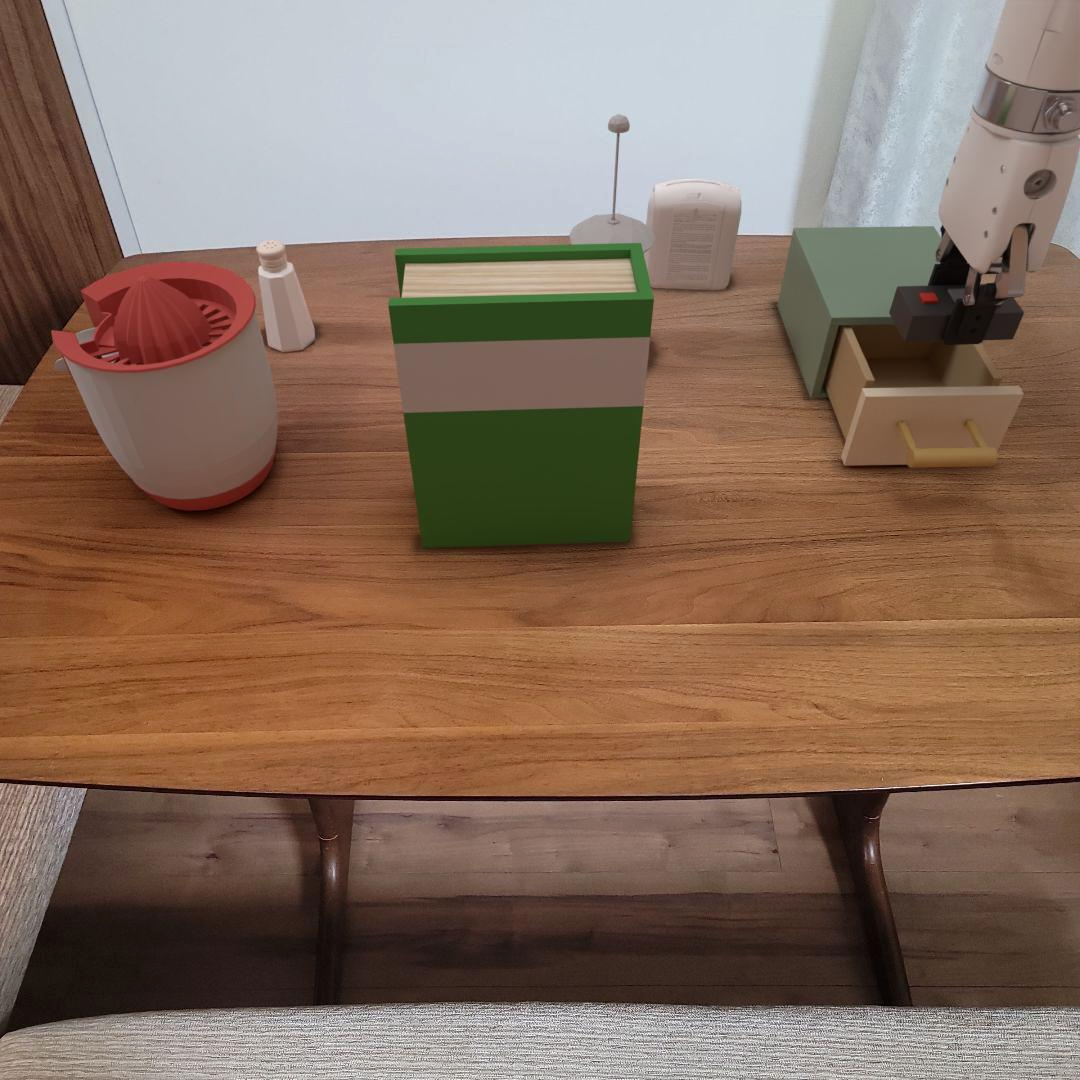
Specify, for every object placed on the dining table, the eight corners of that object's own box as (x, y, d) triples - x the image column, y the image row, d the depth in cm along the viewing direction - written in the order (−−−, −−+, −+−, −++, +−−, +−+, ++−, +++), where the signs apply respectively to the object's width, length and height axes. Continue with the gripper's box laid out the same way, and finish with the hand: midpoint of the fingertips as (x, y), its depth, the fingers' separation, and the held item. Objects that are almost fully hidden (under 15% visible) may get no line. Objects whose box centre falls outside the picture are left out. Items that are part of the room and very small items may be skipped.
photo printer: (727, 275, 109) (744, 172, 100) (730, 295, 106) (747, 191, 97) (640, 272, 110) (648, 170, 101) (640, 292, 107) (649, 188, 98)
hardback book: (422, 551, 79) (388, 305, 61) (426, 491, 84) (395, 248, 66) (629, 545, 79) (654, 299, 62) (620, 485, 84) (641, 242, 67)
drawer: (1013, 504, 81) (1049, 435, 75) (859, 507, 81) (883, 437, 75) (937, 362, 95) (962, 294, 90) (806, 364, 95) (823, 296, 90)
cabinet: (956, 399, 93) (990, 315, 86) (809, 401, 93) (831, 317, 85) (907, 307, 104) (933, 225, 97) (776, 308, 104) (793, 227, 97)
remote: (993, 310, 79) (1005, 279, 77) (1013, 339, 76) (1026, 309, 74) (888, 313, 79) (897, 282, 77) (904, 342, 76) (914, 312, 74)
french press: (630, 323, 102) (649, 87, 84) (673, 383, 95) (704, 139, 76) (546, 339, 100) (547, 101, 82) (583, 403, 92) (593, 155, 74)
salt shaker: (325, 342, 100) (306, 248, 92) (278, 359, 98) (254, 265, 90) (304, 319, 103) (284, 226, 95) (258, 334, 101) (233, 241, 93)
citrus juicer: (139, 413, 92) (63, 224, 77) (312, 419, 91) (269, 229, 76) (75, 526, 81) (-27, 330, 66) (271, 533, 80) (212, 338, 66)
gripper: (1146, 150, 58) (1035, 385, 72) (1037, 53, 70) (959, 270, 83) (1028, 153, 58) (939, 387, 71) (939, 55, 70) (877, 272, 83)
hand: (951, 322), depth 77 cm, fingers closed on remote, 4 cm apart
